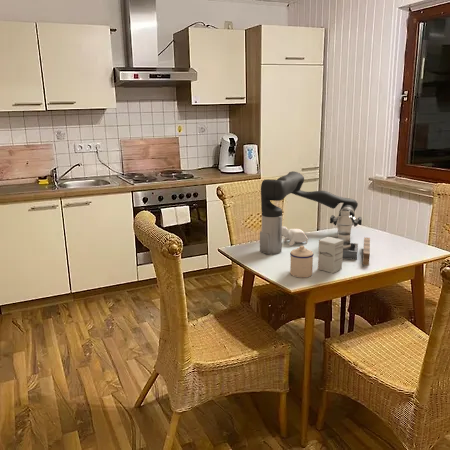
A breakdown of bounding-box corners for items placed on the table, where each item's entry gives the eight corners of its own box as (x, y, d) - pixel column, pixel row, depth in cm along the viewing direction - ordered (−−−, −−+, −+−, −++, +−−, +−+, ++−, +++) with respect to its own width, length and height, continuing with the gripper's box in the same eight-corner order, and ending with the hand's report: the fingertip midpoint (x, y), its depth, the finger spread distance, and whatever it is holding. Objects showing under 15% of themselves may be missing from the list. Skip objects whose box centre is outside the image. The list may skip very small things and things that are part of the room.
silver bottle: (351, 256, 199) (353, 212, 194) (335, 255, 200) (337, 211, 195) (350, 252, 205) (352, 209, 200) (335, 251, 206) (337, 208, 201)
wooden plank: (368, 265, 188) (369, 253, 187) (362, 264, 189) (363, 253, 188) (369, 248, 210) (369, 237, 209) (363, 247, 211) (364, 237, 210)
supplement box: (317, 269, 184) (318, 239, 181) (326, 264, 189) (328, 236, 186) (333, 273, 179) (334, 243, 176) (342, 269, 184) (344, 239, 181)
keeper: (356, 259, 195) (357, 251, 194) (327, 257, 199) (327, 249, 198) (357, 250, 206) (358, 243, 205) (329, 248, 210) (330, 241, 209)
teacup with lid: (317, 276, 177) (318, 247, 174) (297, 279, 174) (298, 251, 171) (300, 266, 188) (301, 239, 185) (281, 269, 184) (282, 242, 181)
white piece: (298, 245, 226) (272, 237, 221) (304, 229, 225) (278, 221, 220) (305, 250, 218) (278, 241, 213) (312, 234, 217) (284, 225, 212)
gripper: (332, 207, 221) (329, 215, 206) (362, 209, 217) (361, 216, 202) (331, 222, 223) (328, 230, 208) (361, 224, 218) (360, 232, 203)
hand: (345, 223), depth 205 cm, fingers open, 8 cm apart
